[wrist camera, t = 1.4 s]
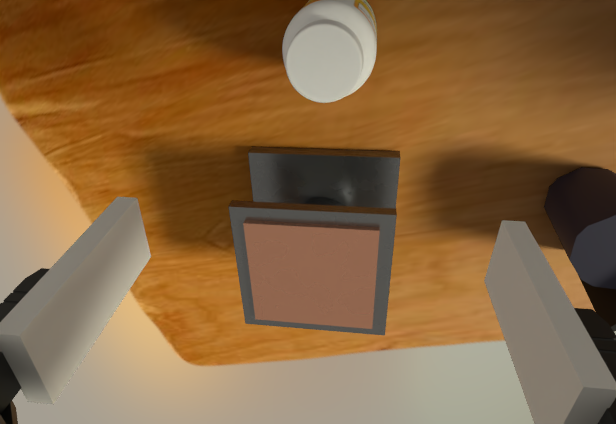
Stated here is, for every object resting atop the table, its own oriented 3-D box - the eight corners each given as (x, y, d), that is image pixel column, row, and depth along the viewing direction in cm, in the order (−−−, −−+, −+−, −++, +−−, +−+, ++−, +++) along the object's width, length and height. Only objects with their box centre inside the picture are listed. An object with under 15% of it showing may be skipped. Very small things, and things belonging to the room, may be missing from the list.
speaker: (643, 224, 35) (715, 312, 26) (566, 251, 38) (609, 339, 29) (608, 146, 33) (674, 214, 24) (529, 180, 35) (563, 252, 27)
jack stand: (399, 151, 35) (405, 212, 27) (388, 268, 41) (391, 344, 34) (251, 146, 36) (218, 203, 29) (263, 260, 43) (238, 331, 35)
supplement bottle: (289, 53, 32) (259, 95, 24) (313, -27, 29) (288, -10, 21) (359, 80, 32) (352, 130, 24) (389, 4, 29) (394, 32, 21)
